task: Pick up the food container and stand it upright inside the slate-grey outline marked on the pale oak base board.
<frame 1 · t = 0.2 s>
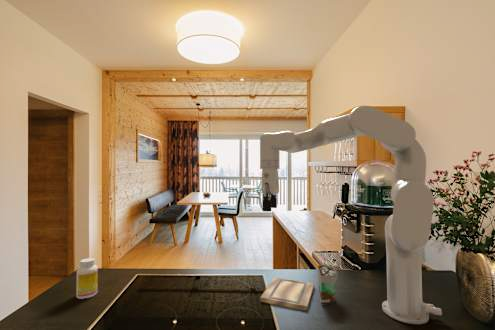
hand: (269, 209, 97), 31 cm above the kitchen counter, tool pointing down, fingers open, 9 cm apart
supplement bottle: (87, 295, 93), on the kitchen counter
base board: (288, 294, 93), on the kitchen counter
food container: (328, 299, 89), on the kitchen counter
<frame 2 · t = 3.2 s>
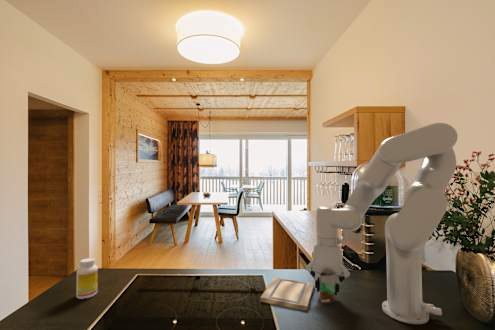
hand: (327, 291, 90), 2 cm above the kitchen counter, tool pointing down, fingers closed on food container, 5 cm apart
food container: (329, 299, 89), on the kitchen counter, touching gripper
everything else where it was.
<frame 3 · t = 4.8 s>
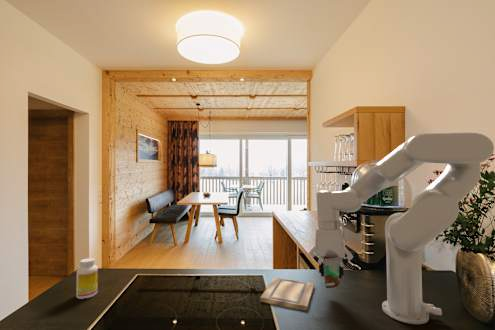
hand: (331, 275, 89), 8 cm above the kitchen counter, tool pointing down, fingers closed on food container, 5 cm apart
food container: (333, 283, 89), point 6 cm above the kitchen counter, touching gripper
everything else where it was.
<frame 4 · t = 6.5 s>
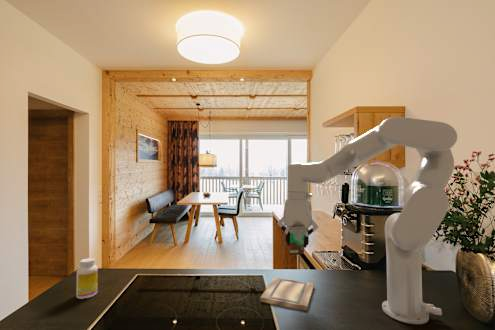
hand: (296, 244, 93), 18 cm above the kitchen counter, tool pointing down, fingers closed on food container, 5 cm apart
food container: (298, 252, 92), point 16 cm above the kitchen counter, touching gripper
everything else where it was.
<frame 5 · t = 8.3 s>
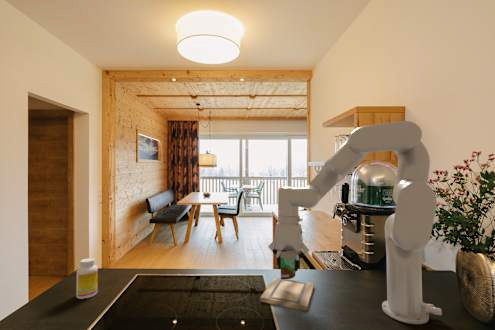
hand: (288, 268, 93), 9 cm above the kitchen counter, tool pointing down, fingers closed on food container, 5 cm apart
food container: (290, 275, 93), point 7 cm above the kitchen counter, touching gripper
everything else where it was.
when the fingers open (5 cm above the kitchen counter, at t = 9.6 s): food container drops 1 cm, resting on base board.
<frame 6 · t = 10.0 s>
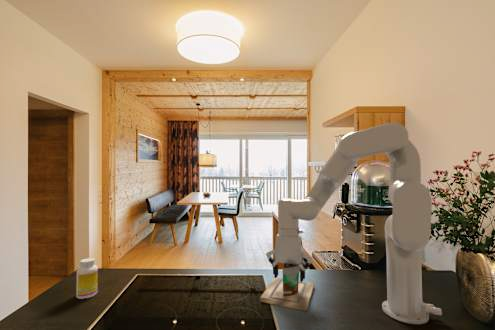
hand: (288, 278, 93), 6 cm above the kitchen counter, tool pointing down, fingers open, 9 cm apart
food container: (292, 291, 92), point 1 cm above the kitchen counter, touching base board
everything else where it was.
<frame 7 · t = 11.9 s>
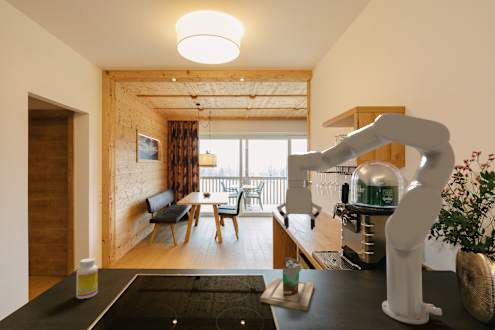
hand: (299, 228, 98), 23 cm above the kitchen counter, tool pointing down, fingers open, 9 cm apart
nothing on the kitchen counter moved.
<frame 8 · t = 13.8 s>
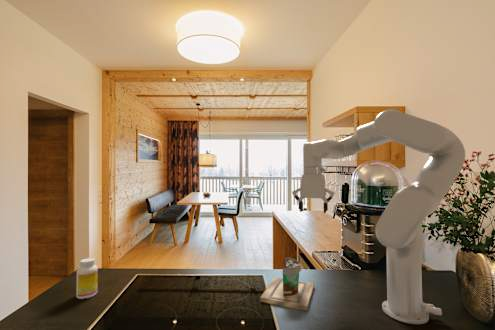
hand: (313, 211, 106), 28 cm above the kitchen counter, tool pointing down, fingers open, 9 cm apart
nothing on the kitchen counter moved.
at the end: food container 1.5 cm off-centre on the base board, point 1.3 cm above the base board's base; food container tilted 0°; the gripper is holding nothing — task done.
